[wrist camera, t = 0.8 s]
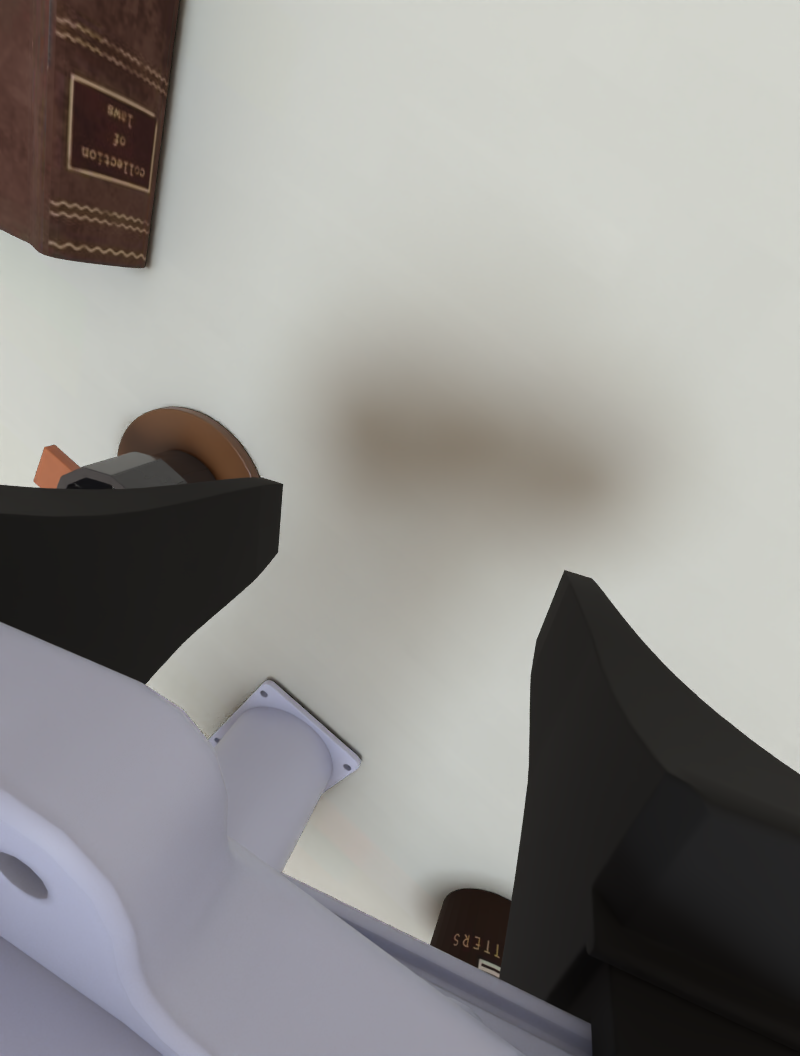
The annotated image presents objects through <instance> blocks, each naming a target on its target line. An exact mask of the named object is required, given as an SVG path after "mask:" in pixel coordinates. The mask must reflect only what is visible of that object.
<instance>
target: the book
mask: <svg viewBox="0 0 800 1056" xmlns="http://www.w3.org/2000/svg"><path fill="white" fill-rule="evenodd" d="M178 8H179V0H0V229H1V230H3V231H5V232H7V233H9V234H11V235H13V236H15V237H17V238H20V239H22V240H24V241H26V242H28V243H30V244H31V245H32V246H33V247H34V248H35V249H36V250H37V251H38V252H40V253H42V254H44V255H47V256H50V257H54V258H59V259H65V260H71V261H78V262H85V263H93V264H102V265H110V266H120V267H130V268H144V267H145V263H146V256H147V248H148V241H149V233H150V225H151V217H152V210H153V202H154V194H155V186H156V179H157V171H158V163H159V155H160V148H161V140H162V132H163V124H164V117H165V109H166V101H167V93H168V86H169V78H170V70H171V62H172V54H173V47H174V39H175V31H176V23H177V16H178Z"/></svg>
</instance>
